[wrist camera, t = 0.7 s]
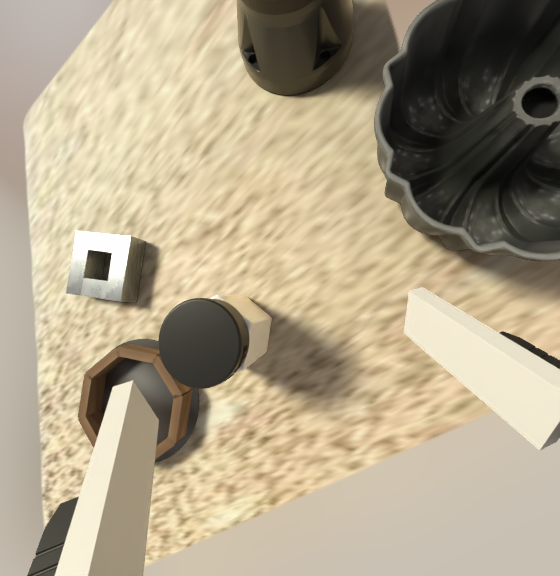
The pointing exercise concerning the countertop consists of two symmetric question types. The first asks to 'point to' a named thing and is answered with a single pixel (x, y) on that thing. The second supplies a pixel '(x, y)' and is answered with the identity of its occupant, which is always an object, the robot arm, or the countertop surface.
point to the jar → (212, 339)
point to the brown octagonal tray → (152, 384)
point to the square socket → (91, 264)
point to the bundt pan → (477, 126)
